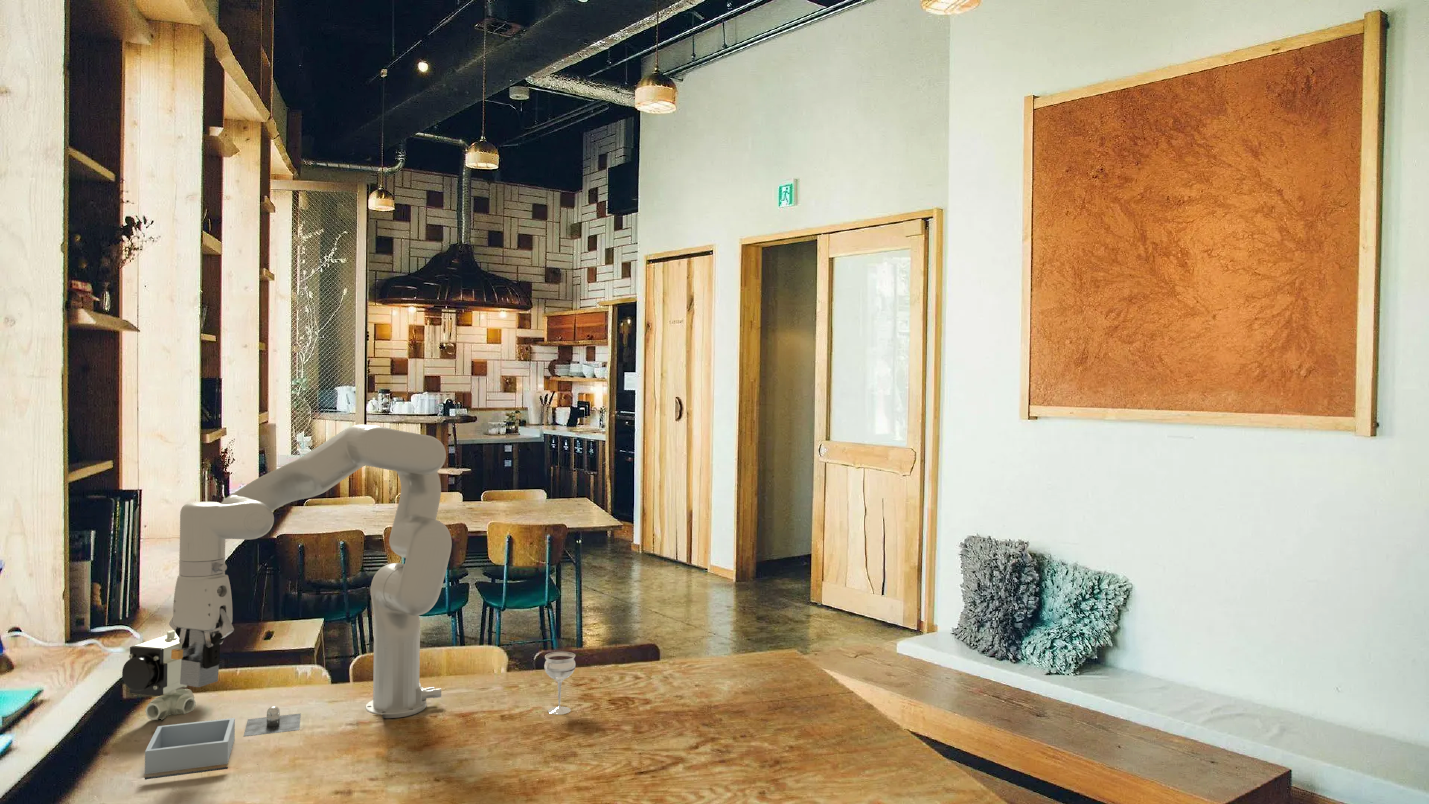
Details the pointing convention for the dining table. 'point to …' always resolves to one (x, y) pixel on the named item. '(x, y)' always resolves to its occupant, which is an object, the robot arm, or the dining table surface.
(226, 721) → the tub
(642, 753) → the dining table surface
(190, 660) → the grey upright piece
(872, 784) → the dining table surface
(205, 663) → the robot arm
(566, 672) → the wineglass
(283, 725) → the stud plate
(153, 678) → the ball valve
